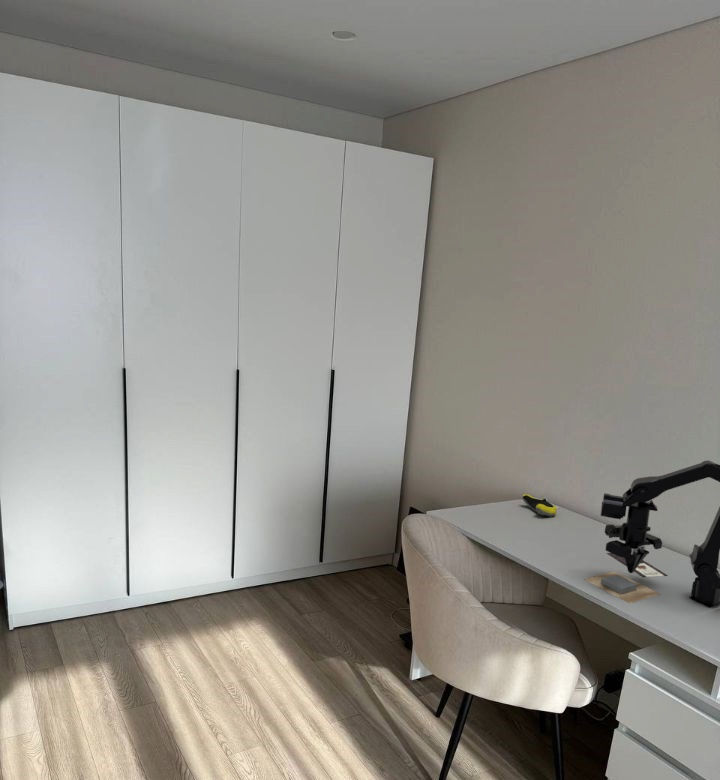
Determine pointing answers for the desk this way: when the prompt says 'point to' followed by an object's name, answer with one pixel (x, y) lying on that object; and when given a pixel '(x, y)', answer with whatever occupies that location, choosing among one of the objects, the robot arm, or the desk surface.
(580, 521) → the desk surface
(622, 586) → the tile
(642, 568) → the chocolate bar
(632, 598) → the mat
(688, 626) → the desk surface
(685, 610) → the desk surface
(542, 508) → the black and yellow shoe
